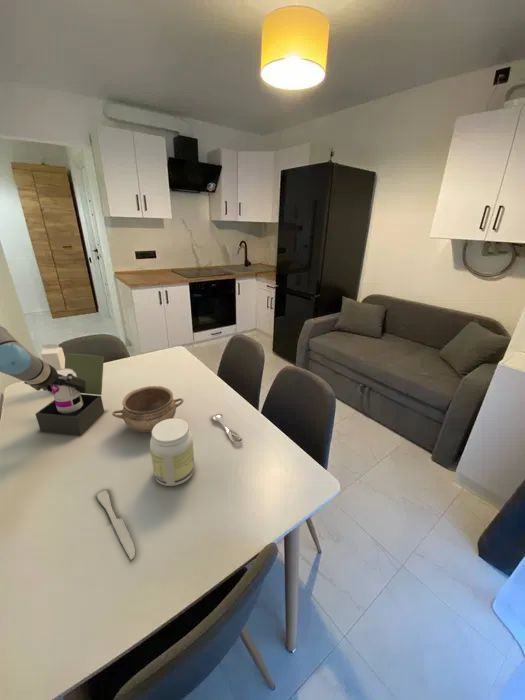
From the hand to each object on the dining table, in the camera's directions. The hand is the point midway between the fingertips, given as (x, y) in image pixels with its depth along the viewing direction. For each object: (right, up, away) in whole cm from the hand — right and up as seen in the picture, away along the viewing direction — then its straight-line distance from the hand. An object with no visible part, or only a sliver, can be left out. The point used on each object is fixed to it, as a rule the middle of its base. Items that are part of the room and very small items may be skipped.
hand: (71, 390), depth 110 cm
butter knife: (+35, -30, -35) cm, 57 cm away
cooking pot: (+30, -14, +2) cm, 33 cm away
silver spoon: (+59, -16, +1) cm, 61 cm away
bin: (0, -12, +2) cm, 12 cm away
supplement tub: (+45, -23, -19) cm, 54 cm away
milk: (-19, -2, +22) cm, 29 cm away
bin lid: (+2, +6, +4) cm, 8 cm away
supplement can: (0, -7, -1) cm, 7 cm away
